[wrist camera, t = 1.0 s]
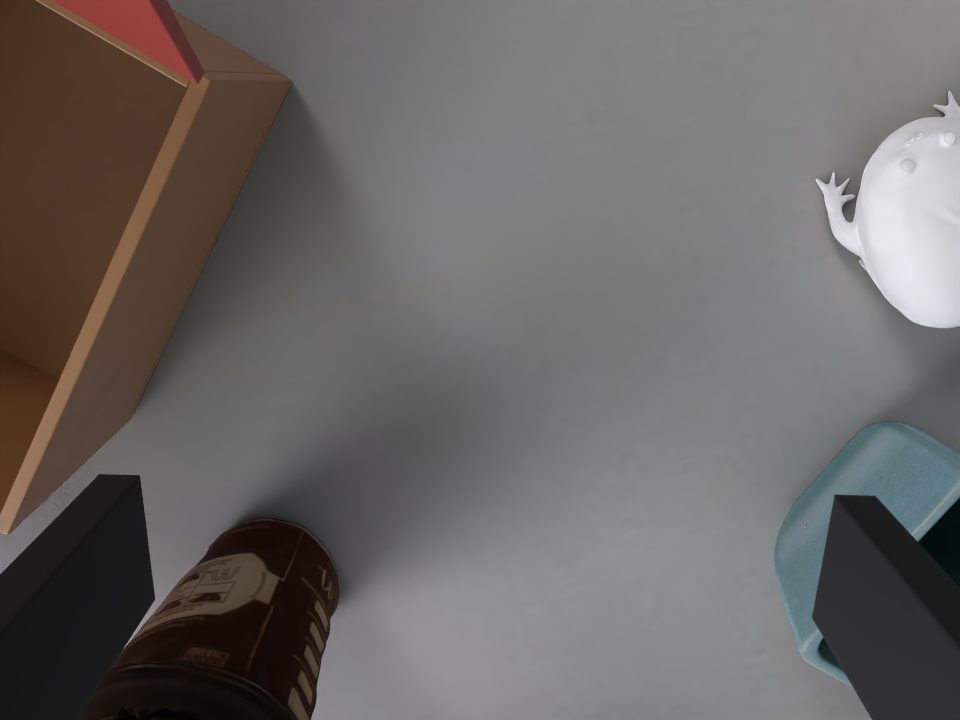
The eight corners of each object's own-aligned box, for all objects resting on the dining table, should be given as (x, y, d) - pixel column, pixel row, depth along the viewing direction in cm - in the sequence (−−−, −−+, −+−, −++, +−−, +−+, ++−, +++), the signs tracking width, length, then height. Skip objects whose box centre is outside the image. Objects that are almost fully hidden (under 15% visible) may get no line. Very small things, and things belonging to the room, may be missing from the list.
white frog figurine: (796, 179, 32) (835, 192, 28) (958, 71, 30) (1020, 69, 27) (891, 340, 34) (938, 370, 30) (1046, 244, 32) (1115, 265, 29)
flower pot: (873, 615, 38) (984, 769, 30) (724, 523, 37) (795, 657, 28) (1011, 472, 36) (1174, 595, 27) (856, 367, 34) (978, 463, 26)
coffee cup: (138, 571, 38) (-32, 808, 25) (254, 456, 36) (131, 653, 23) (282, 683, 40) (189, 953, 27) (399, 579, 38) (356, 820, 25)
